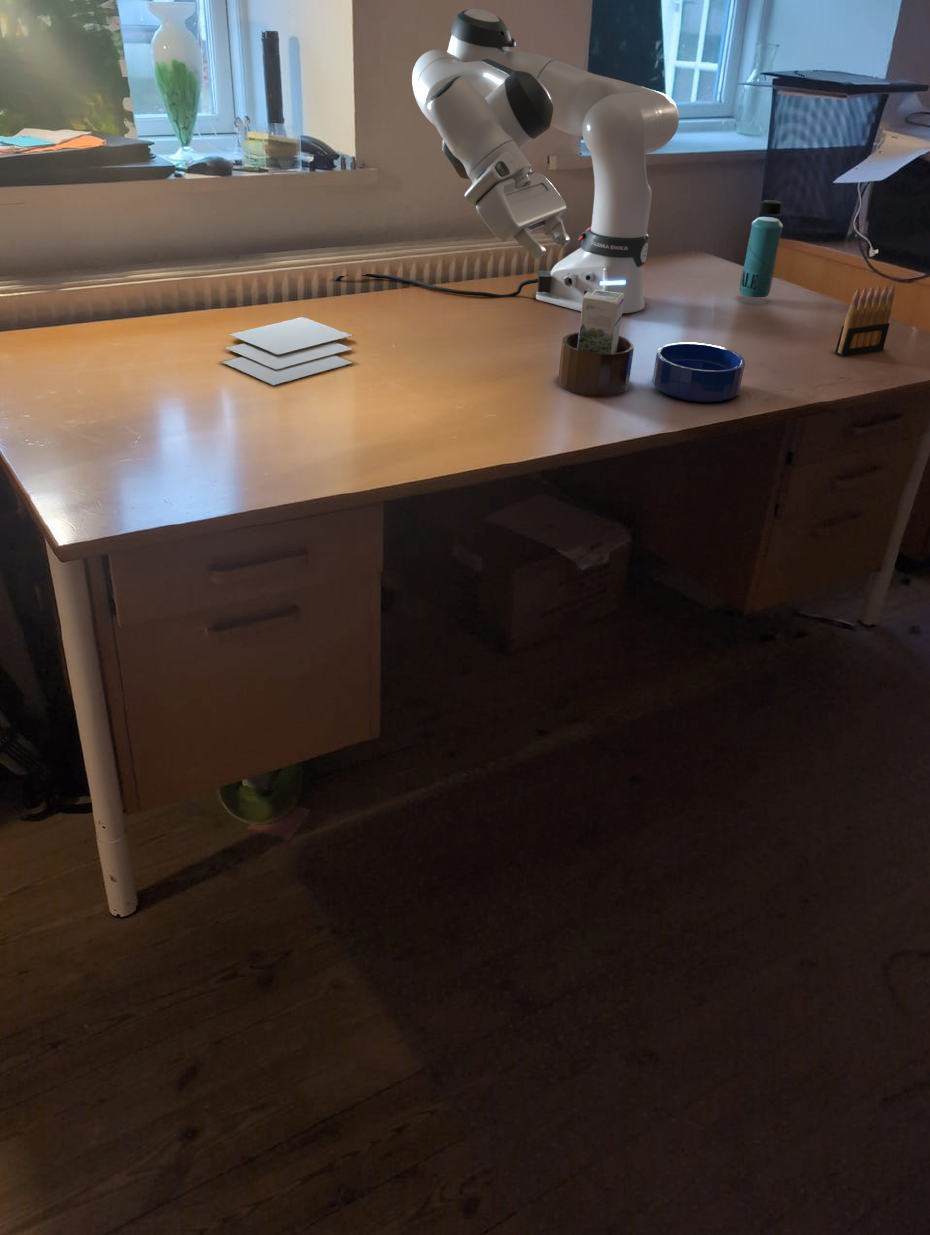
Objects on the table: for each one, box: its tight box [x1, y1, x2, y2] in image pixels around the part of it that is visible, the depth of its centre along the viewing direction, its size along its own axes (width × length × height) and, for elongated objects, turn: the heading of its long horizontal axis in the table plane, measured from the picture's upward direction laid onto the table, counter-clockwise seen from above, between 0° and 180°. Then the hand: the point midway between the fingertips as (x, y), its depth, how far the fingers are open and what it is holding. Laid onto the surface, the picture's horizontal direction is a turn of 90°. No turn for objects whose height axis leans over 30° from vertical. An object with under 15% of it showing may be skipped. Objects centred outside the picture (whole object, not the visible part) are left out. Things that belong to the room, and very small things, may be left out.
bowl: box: [651, 342, 746, 403], centre depth 166 cm, size 14×14×6 cm
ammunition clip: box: [834, 284, 896, 357], centre depth 185 cm, size 11×2×12 cm, turn 117°
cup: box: [557, 331, 635, 398], centre depth 165 cm, size 12×12×7 cm
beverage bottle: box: [739, 199, 784, 298], centre depth 209 cm, size 6×7×20 cm
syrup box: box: [577, 289, 624, 353], centre depth 163 cm, size 6×6×14 cm
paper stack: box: [221, 316, 353, 386], centre depth 173 cm, size 23×25×1 cm
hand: (553, 250), depth 159 cm, fingers open, 8 cm apart
